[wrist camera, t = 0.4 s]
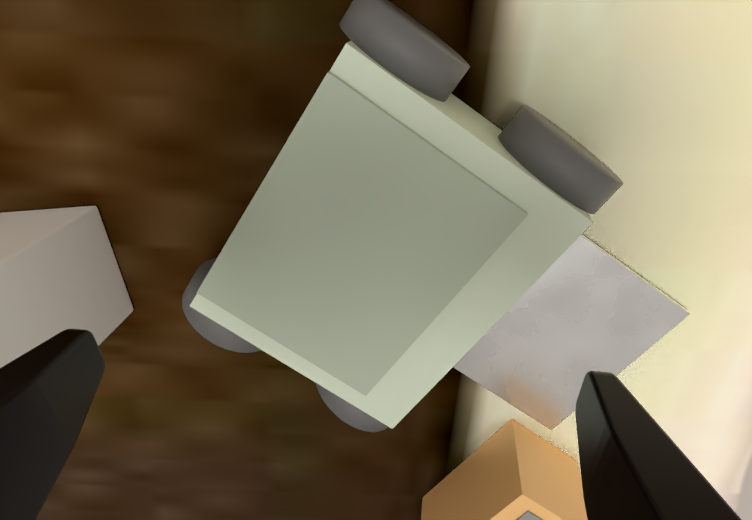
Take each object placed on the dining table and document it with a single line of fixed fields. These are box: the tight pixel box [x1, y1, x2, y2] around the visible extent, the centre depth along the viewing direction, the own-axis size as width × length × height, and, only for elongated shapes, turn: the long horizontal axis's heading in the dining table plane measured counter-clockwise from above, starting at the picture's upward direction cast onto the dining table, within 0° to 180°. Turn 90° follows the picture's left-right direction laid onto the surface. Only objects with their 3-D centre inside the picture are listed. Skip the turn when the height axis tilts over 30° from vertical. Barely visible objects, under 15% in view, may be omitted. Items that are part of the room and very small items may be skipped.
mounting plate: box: [453, 234, 690, 430], centre depth 26 cm, size 9×8×1 cm
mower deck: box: [182, 0, 623, 432], centre depth 22 cm, size 15×12×5 cm
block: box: [421, 419, 588, 520], centre depth 29 cm, size 8×4×5 cm, turn 146°
